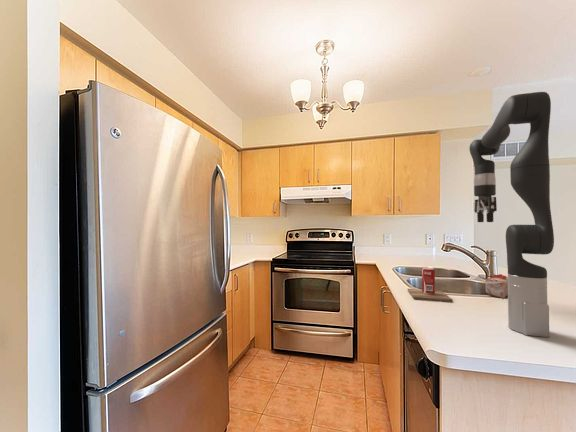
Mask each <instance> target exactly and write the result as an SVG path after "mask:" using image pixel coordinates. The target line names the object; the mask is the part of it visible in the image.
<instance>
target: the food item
mask: <svg viewBox="0 0 576 432" xmlns="http://www.w3.org/2000/svg"><path fill="white" fill-rule="evenodd" d="M485 292H486V294H487V295H488V296H491V297H494V298H499V299H505V298H506V297H508V276H507V275H503V274H501V273H500V274H494V273H492V277H491V278H488V279H486V282H485Z"/></svg>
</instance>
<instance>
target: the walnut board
mask: <svg viewBox="0 0 576 432" xmlns="http://www.w3.org/2000/svg"><path fill="white" fill-rule="evenodd" d="M407 292H408V293H409V294H410V296H411V298H412V300H416V301H428V302H440V301H442V303H453V301H454V300H453V298H451V296H449V295H448V294H446V293H445V292H444V291H442V290H436V289H435V294H434V295H426V294H423V292H422V288H421V289H418V288H407Z"/></svg>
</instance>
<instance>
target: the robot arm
mask: <svg viewBox="0 0 576 432" xmlns="http://www.w3.org/2000/svg"><path fill="white" fill-rule="evenodd" d="M550 97H551V96H550V94H549V93H548V92H547V91H536V92H534V91H533V92H528V93H526V92H525V93H519V94H514V95H511V96H509V97H508V98H507V99H506V100H505V101H504V103H503V104H502V106H501V107H500V110H499V112H498V113H497V115H496V116H495V119H494V121H493V123H492V125H491V126H490V127H489V129H488V130H487V131H486V132H485V133H484V135H483V136H482V138H480V139H474V140H472V141H471V143H470V145H469V148H468V149H469V153H470V156H471V159H472V161H473V167H474V179H473V196H475V197H478V199H474V213H476V216H477V217H476V219H477V223H484V222H485V221H484V220H485V219H486V222H487V223H494V213H495V212H497V207H498V204H497V196H496V194H497V189H496V186H497V184H496V182H497V181H496V173H495V171H496V168H495V167H496V165H495V162H494V160H490V159H486V158H483V157H484V156H493V155H495V154H498V153H499V150H500V148H501V146H502V144H503V143H504V142H505V141H506V140H507V139H508V138H509V136H510V134H511V127H510V125H523V124H529V125H530V127H529V128H530V129H529V135H528V137H527V139H526V141H525V143H524V144H523V146H522V147H521V148H520V150H519V151H518V152H517V153H516V155H515V156H514V158H513V159H512V161H511V162H510V166H509V168H510V171H509V172H510V186H511V188H512V189H513V191H515V193H516V194H517V195H518V196H519V198H520V199H521V200H522V201H523V202H524V203H525V204H526V205H527V207H528V208H529V209H530V211H531V214H532V217H533V219H534V224H510V225H508V227H507V228H506V230H505V245H506V247H505V248H506V265H507V266H506V267H507V277H508V296H507V317H508V318H507V321H508V327H509V329H511V330H513V331H515V332H517V333H520V334H523V335H525V336H533V337H544V338H550V306H549V304H548V272H547V269H546V267H545V266H544V267H543V266H541V265H538V264H534V263H532V262H529V260H526V259H525V258H524V256H523V254H525V255H526V254H527V255H549V254H551V253H552V252H553V250H554V246H555V235H554V234H555V233H554V226H553V219H552V210H551V201H550V198H551V197H550V195H551V193H550V192H551V191H550V189H551V188H550V185H551V183H550V182H551V175H550V174H551V173H550V171H551V170H550V156H549V155H550V154H549V151H550V150H549V134H550V132H549V131H550V123H551V122H550V121H551V112H552V110H551V109H552V108H551V107H552V105H551V104H552V103H551V102H552V101H551V98H550ZM485 212H486V218H485V217H484V216H485V215H484V214H485ZM484 218H485V219H484Z"/></svg>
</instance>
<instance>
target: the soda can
mask: <svg viewBox="0 0 576 432" xmlns="http://www.w3.org/2000/svg"><path fill="white" fill-rule="evenodd" d="M434 268H435V267H432V266H422V269H421V289H422V292H423V294H426V295H434V294H435V290H436V277H435V276H436V271H435V269H434Z"/></svg>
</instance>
